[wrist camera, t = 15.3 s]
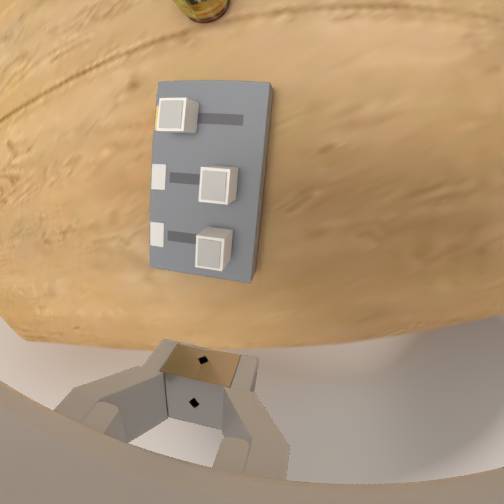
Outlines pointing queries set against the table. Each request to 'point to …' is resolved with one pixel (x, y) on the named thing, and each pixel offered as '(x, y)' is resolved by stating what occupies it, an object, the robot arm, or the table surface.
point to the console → (205, 154)
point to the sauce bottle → (202, 9)
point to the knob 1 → (177, 115)
